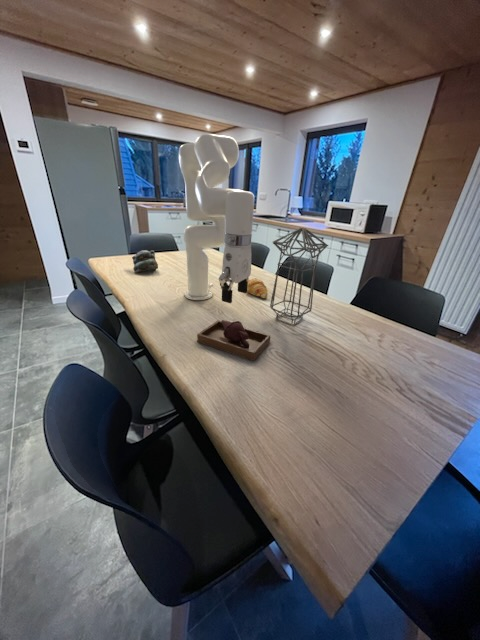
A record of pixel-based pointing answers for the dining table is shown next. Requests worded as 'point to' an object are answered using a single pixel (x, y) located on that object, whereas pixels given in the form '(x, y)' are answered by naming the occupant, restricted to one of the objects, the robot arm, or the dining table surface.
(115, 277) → the dining table surface
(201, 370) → the dining table surface
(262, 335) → the tray
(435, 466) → the dining table surface
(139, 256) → the grey lumpy block
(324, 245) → the geometric lantern
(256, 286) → the croissant
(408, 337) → the dining table surface
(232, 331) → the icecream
